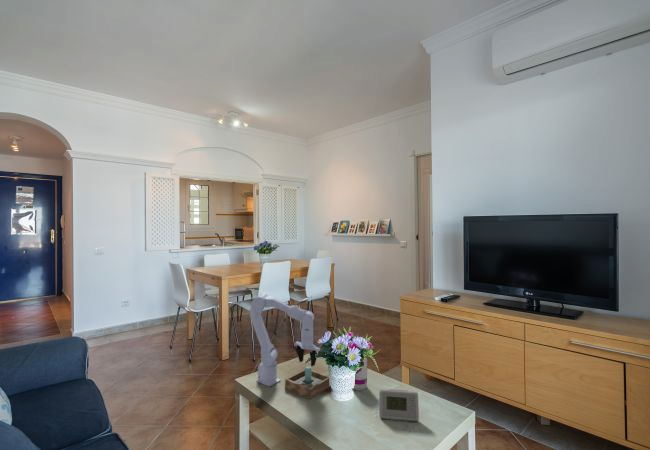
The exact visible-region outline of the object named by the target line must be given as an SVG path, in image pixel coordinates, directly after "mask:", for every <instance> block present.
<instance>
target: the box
mask: <svg viewBox="0 0 650 450" xmlns="http://www.w3.org/2000/svg"><path fill="white" fill-rule="evenodd" d="M329 377H330V376H329V375H327V374H324V373H321V372H318V371H316V370H313V369H312V372H311V383H310V384H307V383H305V368H304V369H302V370H299V372H296V373H294V374H293V375H291V376H289V377H287V378H284V389H285V390H287V391H290V392H293V393H295V394H297V395H298V396H299V395H300V396H301V397H304V398H305V399H308V400H312V399H313V398H315V397H316V396H318V395H319V394H320V393H321V394H322V393H323V392H324V391H326V390H328V389H329V388H330V387H329Z"/></svg>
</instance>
